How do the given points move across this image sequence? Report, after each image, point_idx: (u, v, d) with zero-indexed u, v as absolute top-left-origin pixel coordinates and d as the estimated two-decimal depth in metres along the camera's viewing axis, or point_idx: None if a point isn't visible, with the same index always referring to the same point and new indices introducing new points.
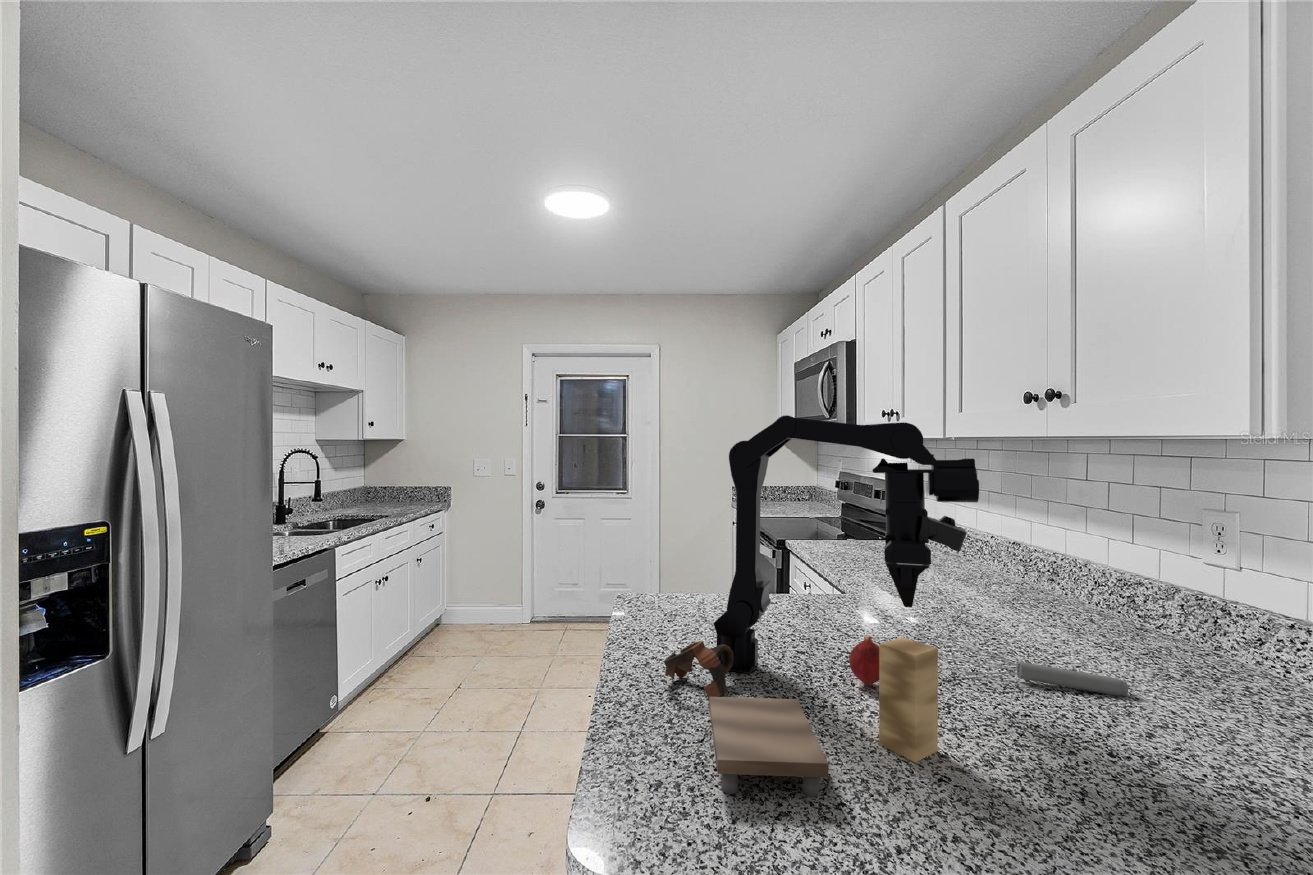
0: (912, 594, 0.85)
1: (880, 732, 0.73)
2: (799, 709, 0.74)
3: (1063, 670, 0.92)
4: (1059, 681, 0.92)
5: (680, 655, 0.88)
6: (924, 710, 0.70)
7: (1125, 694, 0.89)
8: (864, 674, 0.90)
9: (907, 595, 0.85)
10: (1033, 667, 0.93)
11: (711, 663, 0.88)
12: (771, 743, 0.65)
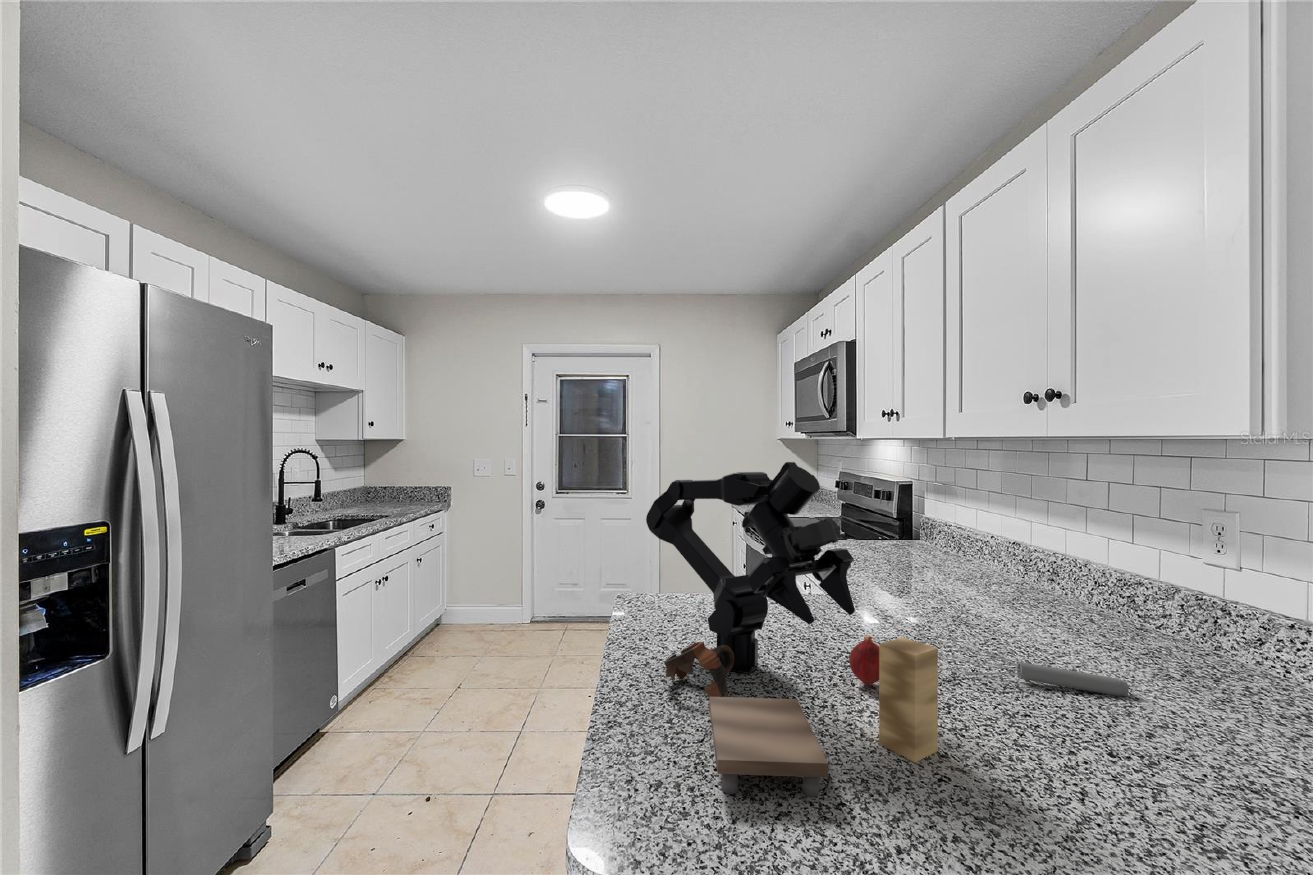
0: (803, 608, 0.81)
1: (880, 732, 0.73)
2: (799, 709, 0.74)
3: (1063, 670, 0.92)
4: (1059, 681, 0.92)
5: (681, 656, 0.88)
6: (924, 710, 0.70)
7: (1125, 694, 0.89)
8: (864, 674, 0.90)
9: (801, 612, 0.82)
10: (1033, 667, 0.93)
11: (712, 664, 0.87)
12: (771, 743, 0.65)
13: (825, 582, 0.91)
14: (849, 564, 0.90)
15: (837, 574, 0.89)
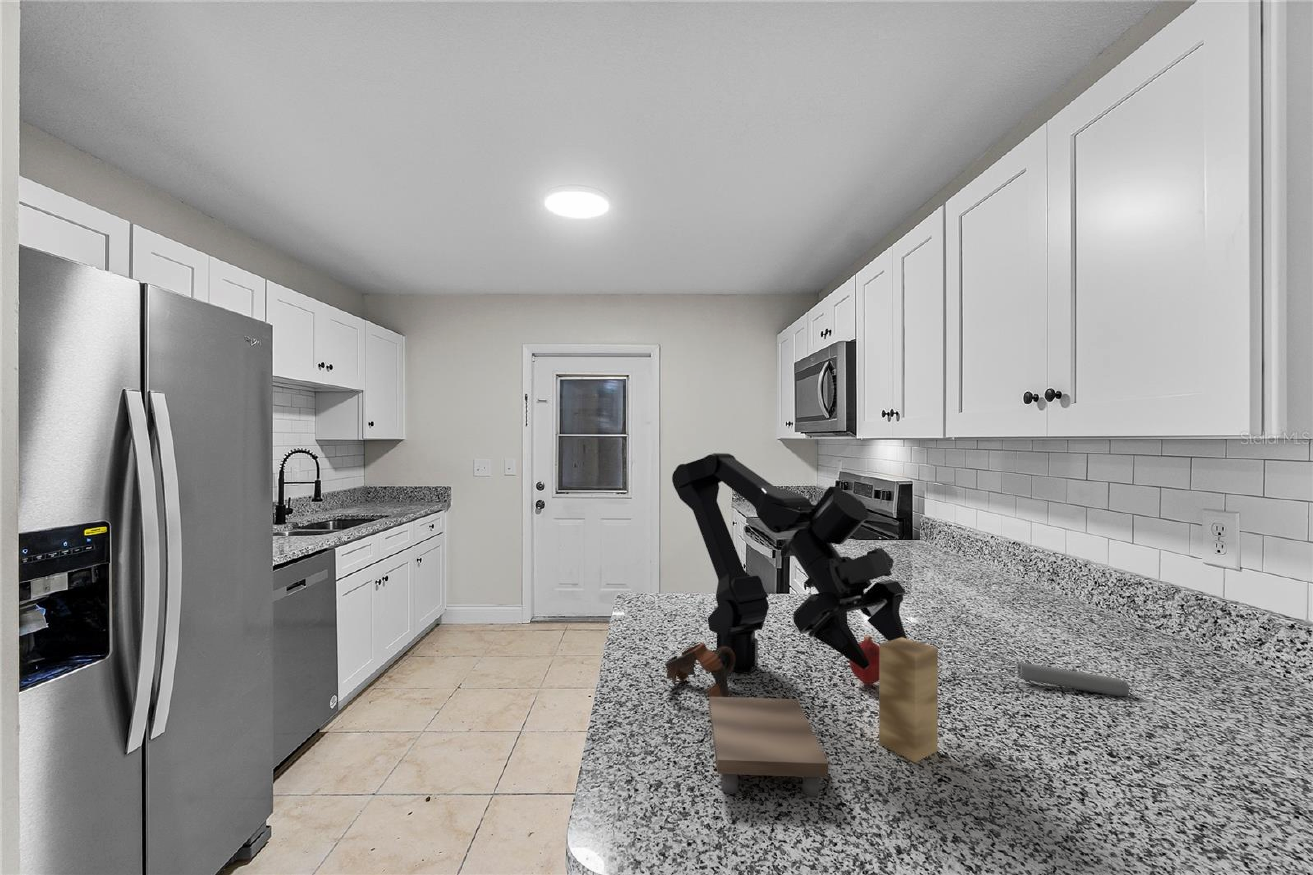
0: (856, 651, 0.73)
1: (880, 732, 0.73)
2: (799, 709, 0.74)
3: (1064, 670, 0.92)
4: (1060, 681, 0.91)
5: (682, 658, 0.87)
6: (924, 710, 0.70)
7: (1126, 694, 0.89)
8: (864, 674, 0.90)
9: (854, 655, 0.74)
10: (1034, 667, 0.93)
11: (713, 665, 0.87)
12: (771, 743, 0.65)
13: (875, 617, 0.83)
14: (901, 598, 0.82)
15: (889, 610, 0.81)
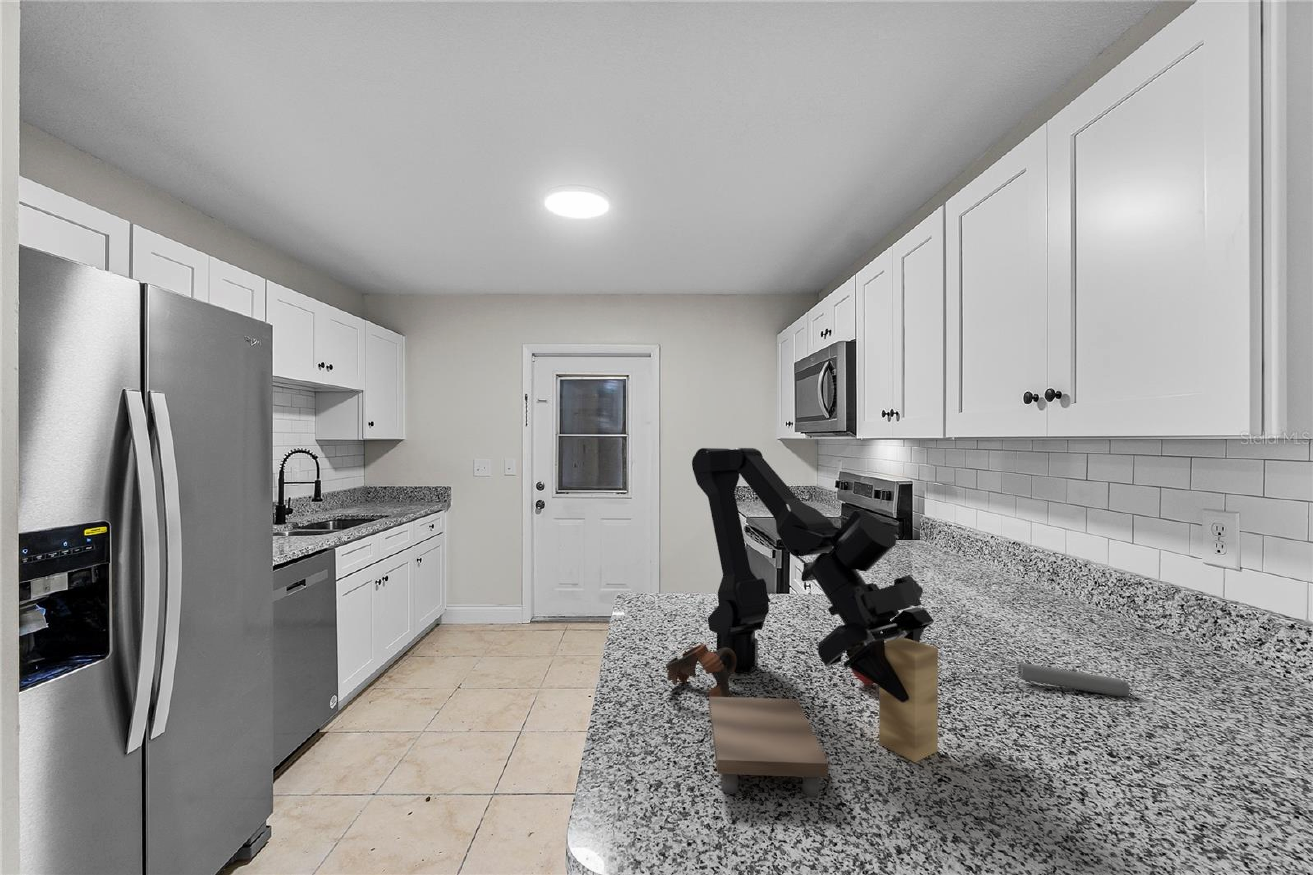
0: (895, 683, 0.71)
1: (880, 732, 0.73)
2: (799, 709, 0.74)
3: (1064, 671, 0.92)
4: (1060, 681, 0.91)
5: (683, 659, 0.86)
6: (924, 710, 0.70)
7: (1126, 695, 0.89)
8: None
9: (893, 687, 0.71)
10: (1034, 668, 0.93)
11: (715, 667, 0.86)
12: (771, 743, 0.65)
13: None
14: (922, 630, 0.77)
15: None
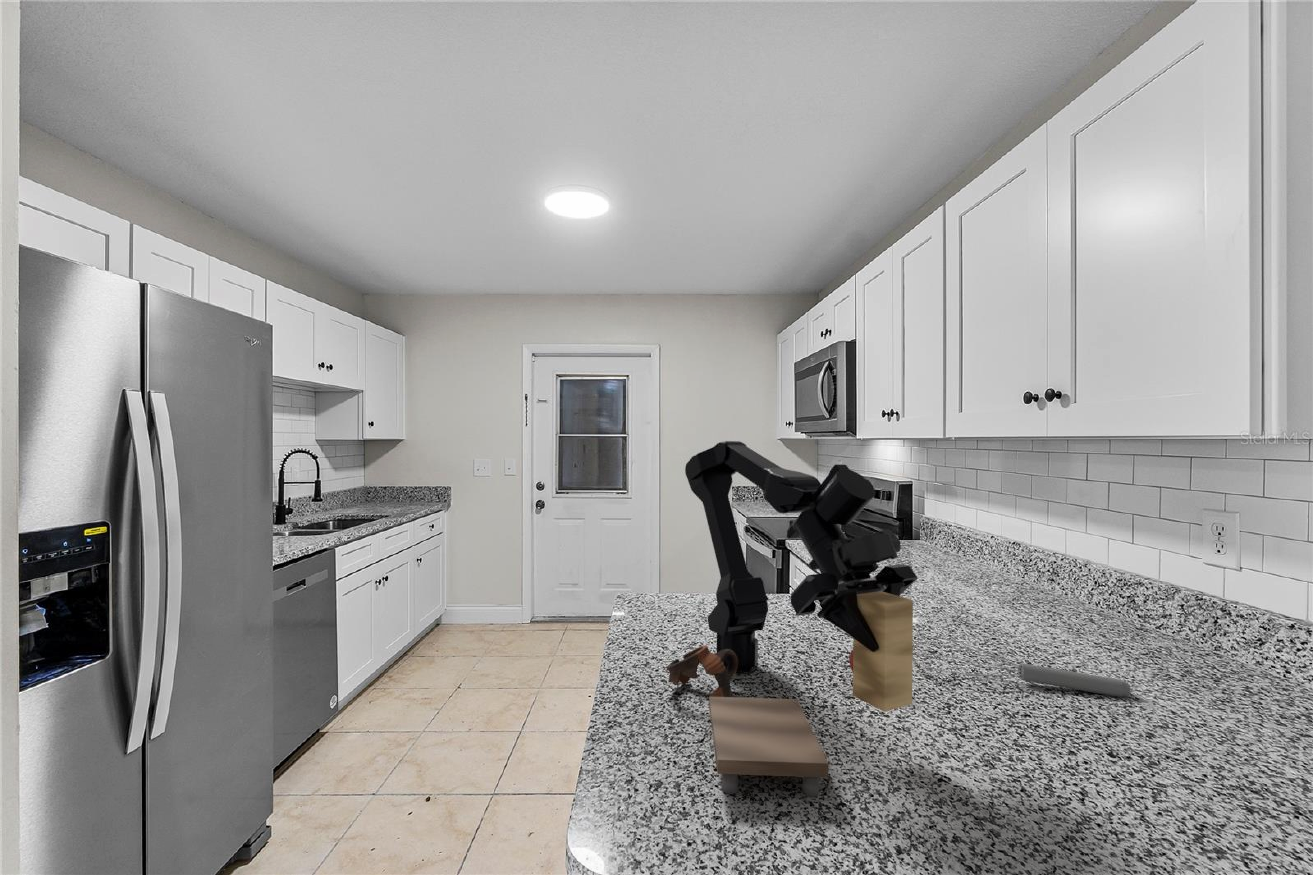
0: (865, 633, 0.70)
1: (854, 683, 0.73)
2: (799, 709, 0.74)
3: (1065, 671, 0.92)
4: (1061, 682, 0.91)
5: (685, 661, 0.85)
6: (895, 660, 0.70)
7: (1127, 695, 0.89)
8: None
9: (863, 637, 0.71)
10: (1035, 669, 0.93)
11: (716, 669, 0.85)
12: (771, 743, 0.65)
13: None
14: (902, 585, 0.76)
15: None
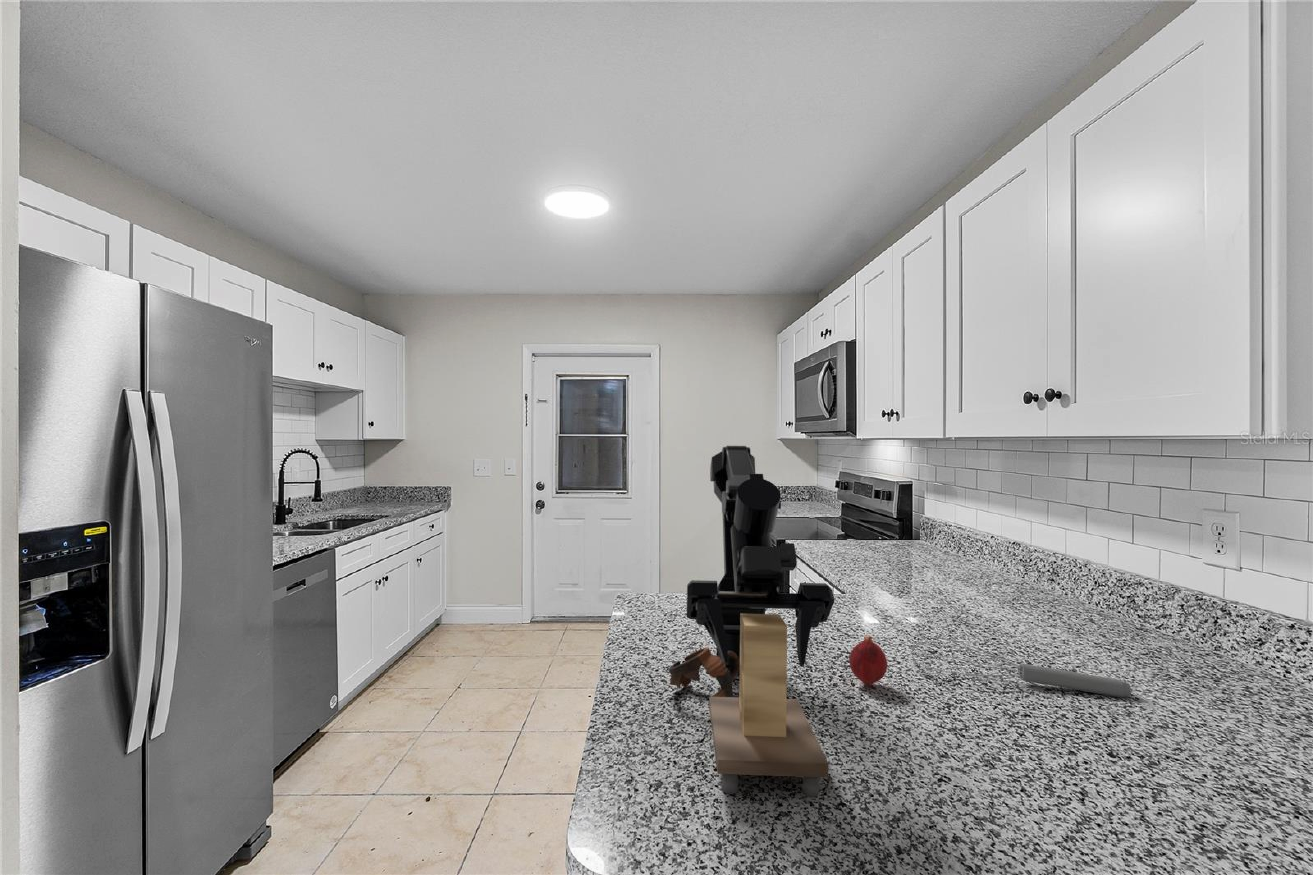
0: (719, 644, 0.70)
1: (739, 703, 0.72)
2: (799, 709, 0.74)
3: (1066, 672, 0.92)
4: (1061, 682, 0.91)
5: (686, 663, 0.85)
6: (760, 686, 0.67)
7: (1128, 695, 0.89)
8: (864, 674, 0.90)
9: (720, 648, 0.70)
10: (1036, 669, 0.93)
11: (719, 671, 0.85)
12: (771, 743, 0.65)
13: (797, 622, 0.74)
14: (819, 604, 0.71)
15: (800, 614, 0.72)
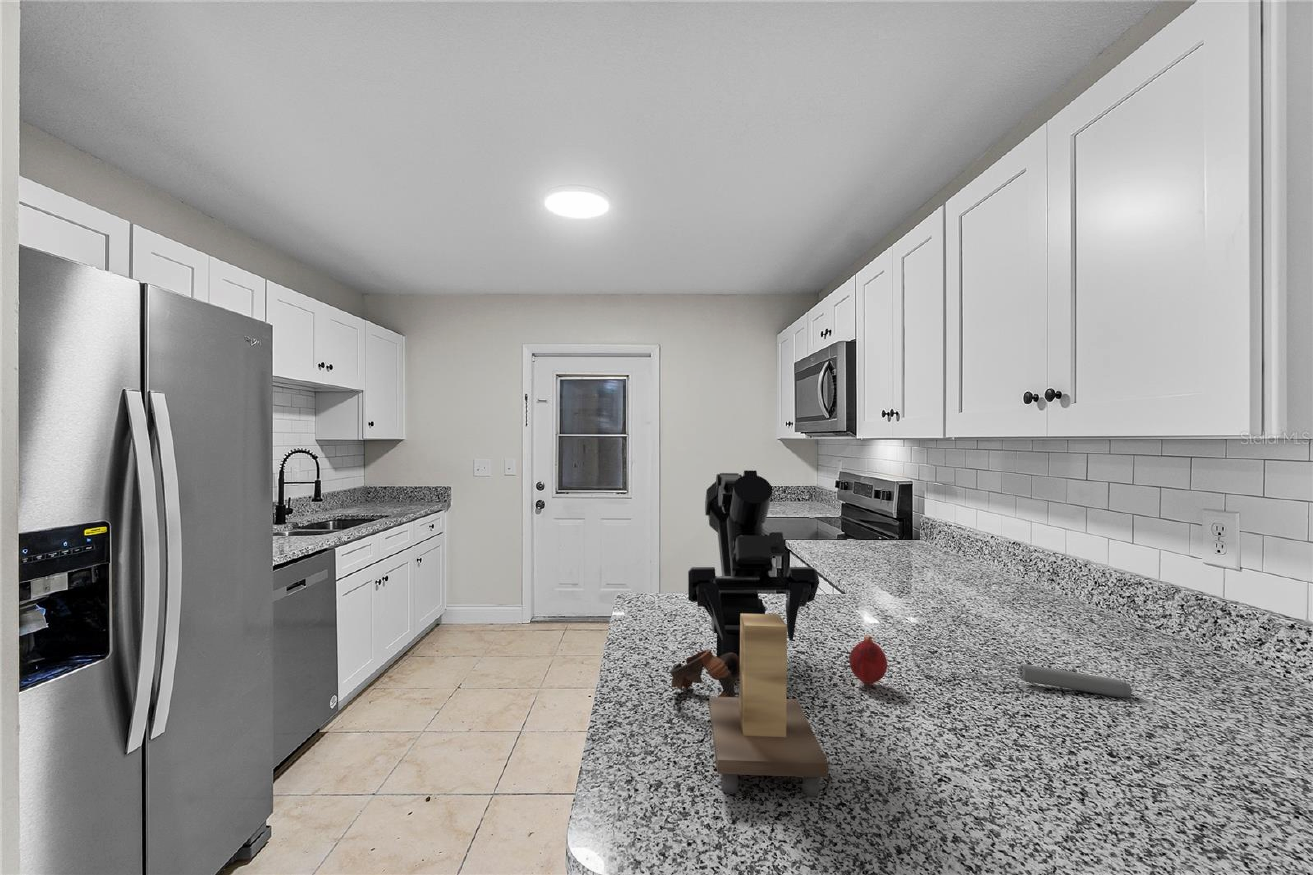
0: (717, 623, 0.79)
1: (739, 703, 0.72)
2: (799, 709, 0.74)
3: (1066, 672, 0.91)
4: (1062, 683, 0.91)
5: (688, 665, 0.84)
6: (760, 686, 0.67)
7: (1128, 696, 0.88)
8: (864, 674, 0.90)
9: (718, 626, 0.79)
10: (1036, 669, 0.92)
11: (721, 673, 0.84)
12: (771, 743, 0.65)
13: (786, 601, 0.83)
14: (806, 585, 0.80)
15: (789, 595, 0.81)
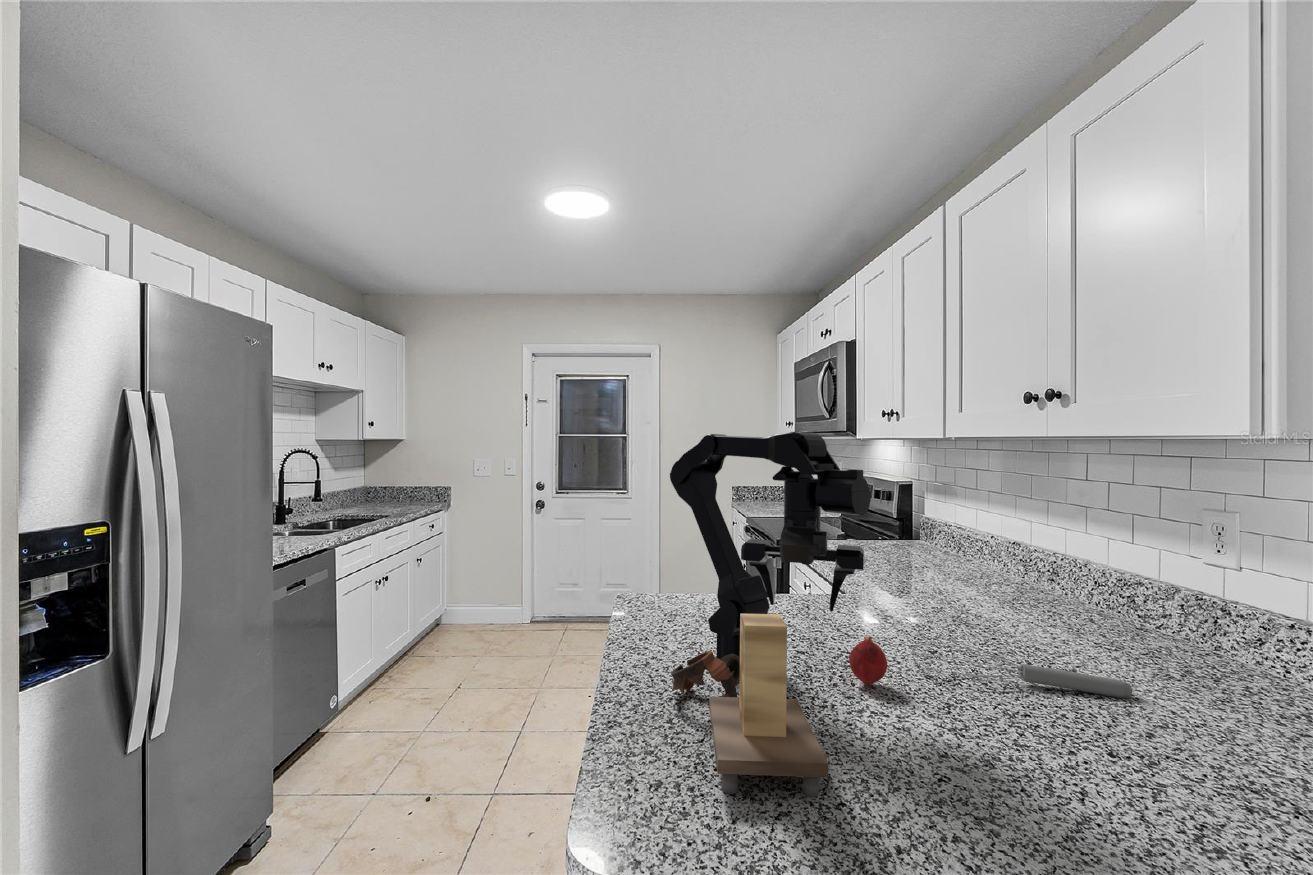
0: (767, 592, 0.92)
1: (739, 703, 0.72)
2: (799, 709, 0.74)
3: (1067, 672, 0.91)
4: (1062, 683, 0.91)
5: (690, 667, 0.83)
6: (760, 686, 0.67)
7: (1129, 696, 0.88)
8: (864, 674, 0.90)
9: None
10: (1037, 669, 0.92)
11: (723, 675, 0.83)
12: (771, 743, 0.65)
13: None
14: (849, 573, 0.85)
15: None
